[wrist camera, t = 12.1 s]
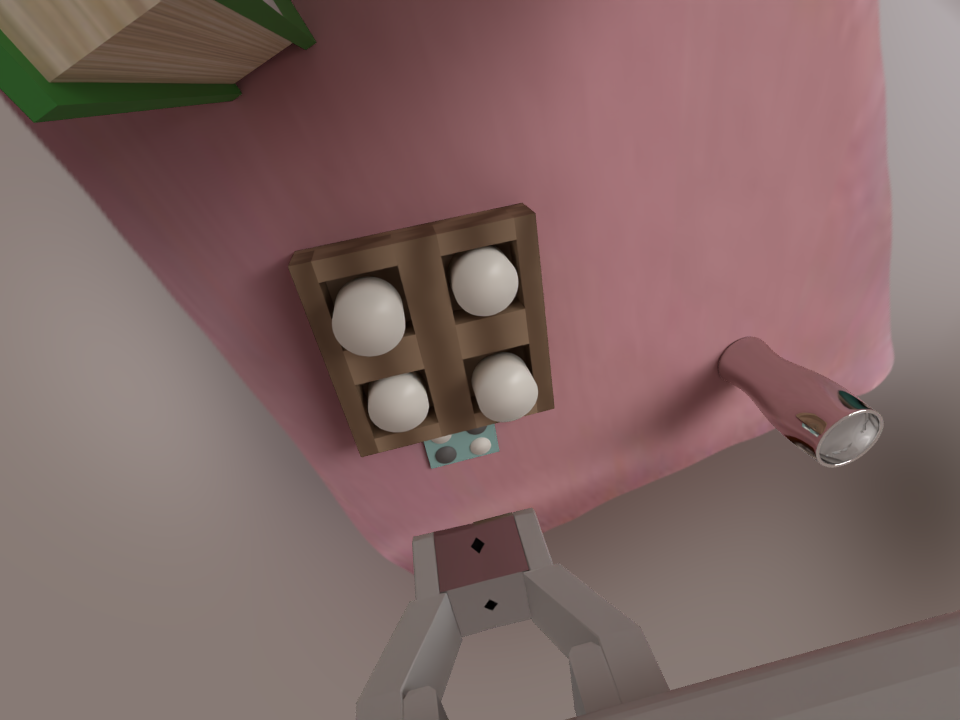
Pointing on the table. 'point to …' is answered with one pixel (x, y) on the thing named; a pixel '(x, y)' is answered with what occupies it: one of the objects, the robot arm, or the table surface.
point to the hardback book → (136, 52)
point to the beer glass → (802, 403)
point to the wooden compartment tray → (429, 319)
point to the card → (462, 446)
